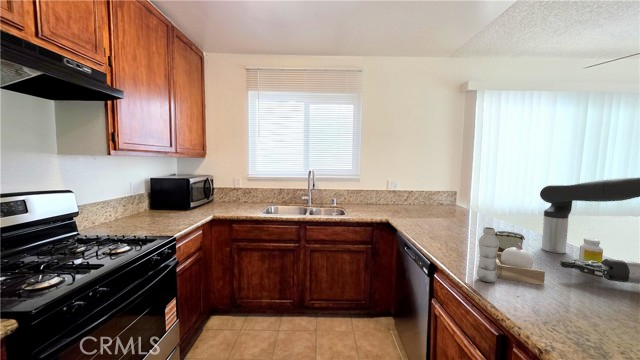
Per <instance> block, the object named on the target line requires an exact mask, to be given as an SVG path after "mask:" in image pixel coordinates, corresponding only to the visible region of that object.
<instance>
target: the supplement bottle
mask: <svg viewBox="0 0 640 360" xmlns="http://www.w3.org/2000/svg"><path fill="white" fill-rule="evenodd" d="M600 244H601V240H600V239H596V238H591V237H584V238H583V243H581V244H580V245H579V257H578V259H586V261H596V262H597V263H601V262H602V261H603V255H604V249H603V247H601V246H600Z"/></svg>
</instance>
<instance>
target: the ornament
mask: <svg viewBox="0 0 640 360" xmlns="http://www.w3.org/2000/svg"><path fill="white" fill-rule="evenodd" d="M533 262H534V261H533V257H532V256H531V254H530V253H529V252H528V251H527V250H525V249H523V244H522V245H521V244H517V246H516V247H511V248H507V249H505V250H504V251H503V253H502V255H501V263H502V265H507V266H515V267H522V268H529V269H533V264H534V263H533Z"/></svg>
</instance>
